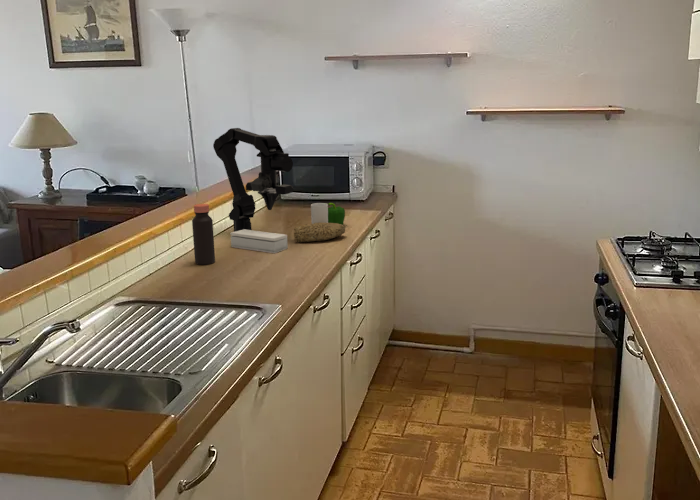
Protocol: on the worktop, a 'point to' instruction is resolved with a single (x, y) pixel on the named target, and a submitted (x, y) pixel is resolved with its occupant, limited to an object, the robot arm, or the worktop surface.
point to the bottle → (203, 235)
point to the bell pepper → (336, 214)
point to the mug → (319, 213)
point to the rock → (318, 232)
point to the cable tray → (259, 244)
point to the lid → (258, 235)
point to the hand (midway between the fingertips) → (269, 209)
